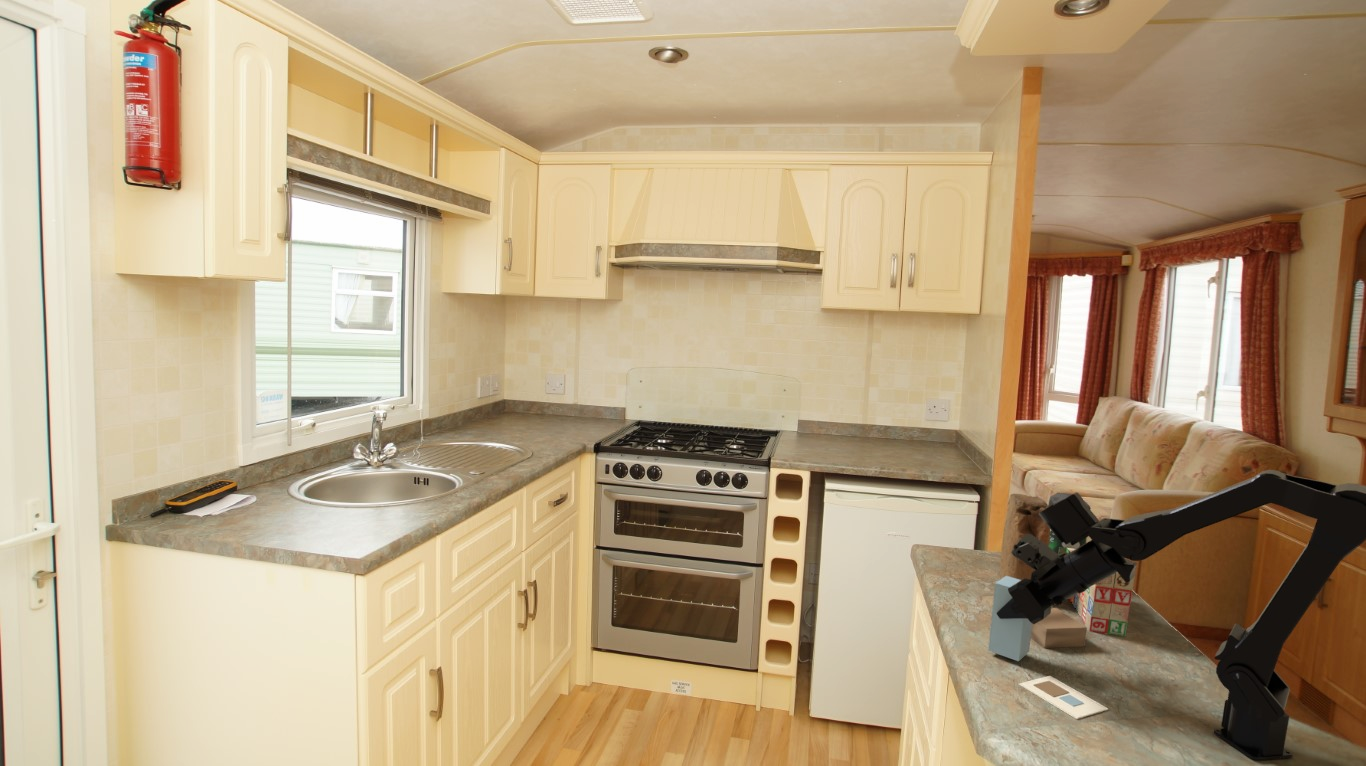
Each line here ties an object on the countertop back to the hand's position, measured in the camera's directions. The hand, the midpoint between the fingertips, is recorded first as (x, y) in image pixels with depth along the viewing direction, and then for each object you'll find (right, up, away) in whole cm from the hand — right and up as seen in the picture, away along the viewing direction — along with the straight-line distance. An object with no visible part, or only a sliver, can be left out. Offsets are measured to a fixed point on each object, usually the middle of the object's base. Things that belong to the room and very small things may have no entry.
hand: (1004, 611), depth 125 cm
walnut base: (+12, -7, +8) cm, 16 cm away
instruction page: (+3, -9, -13) cm, 16 cm away
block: (+16, -5, +29) cm, 34 cm away
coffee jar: (+30, -4, +39) cm, 49 cm away
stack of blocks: (+26, -7, +21) cm, 34 cm away
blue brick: (+1, -7, 0) cm, 7 cm away
